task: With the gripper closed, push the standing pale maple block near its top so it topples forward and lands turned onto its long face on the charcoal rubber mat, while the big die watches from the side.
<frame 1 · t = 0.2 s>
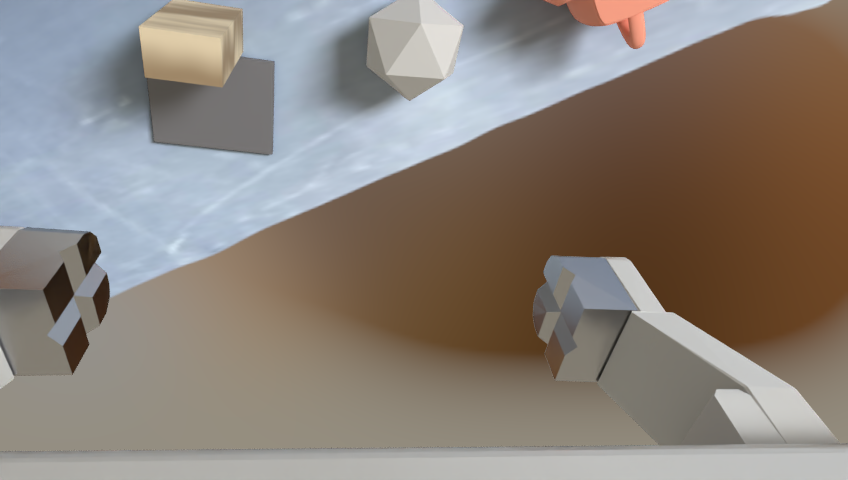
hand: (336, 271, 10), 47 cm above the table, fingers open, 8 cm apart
maple block: (209, 25, 51), on the table
rubber mat: (213, 101, 55), on the table
die: (409, 34, 54), on the table
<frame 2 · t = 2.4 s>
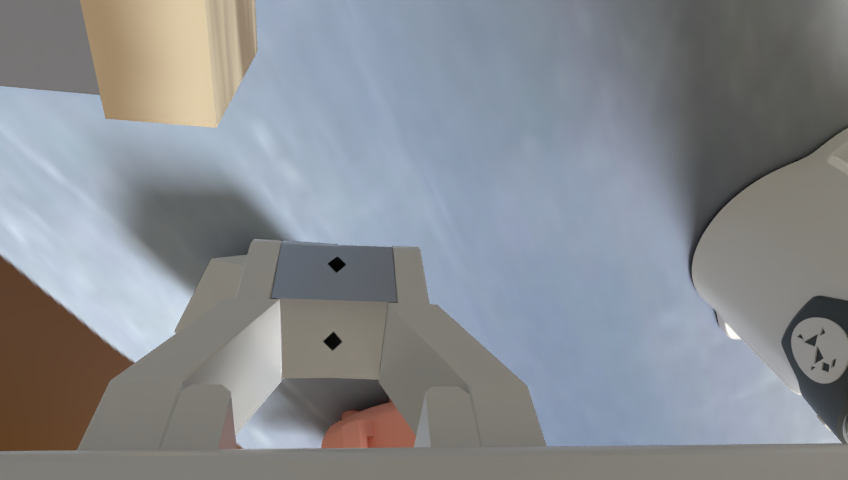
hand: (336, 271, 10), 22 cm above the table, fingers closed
teapot: (385, 425, 49), on the table
die: (267, 278, 38), on the table
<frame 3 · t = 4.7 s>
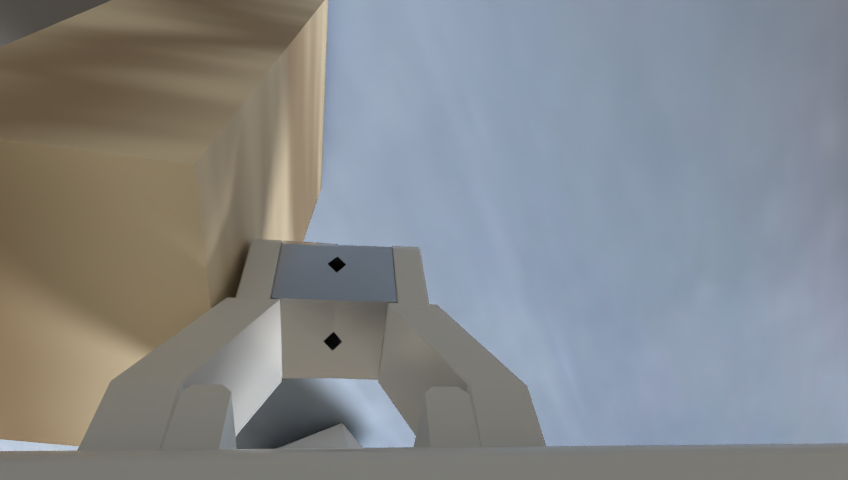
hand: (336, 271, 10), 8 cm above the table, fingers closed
maple block: (257, 92, 16), on the table, tilted 6°, touching gripper
die: (313, 452, 28), on the table
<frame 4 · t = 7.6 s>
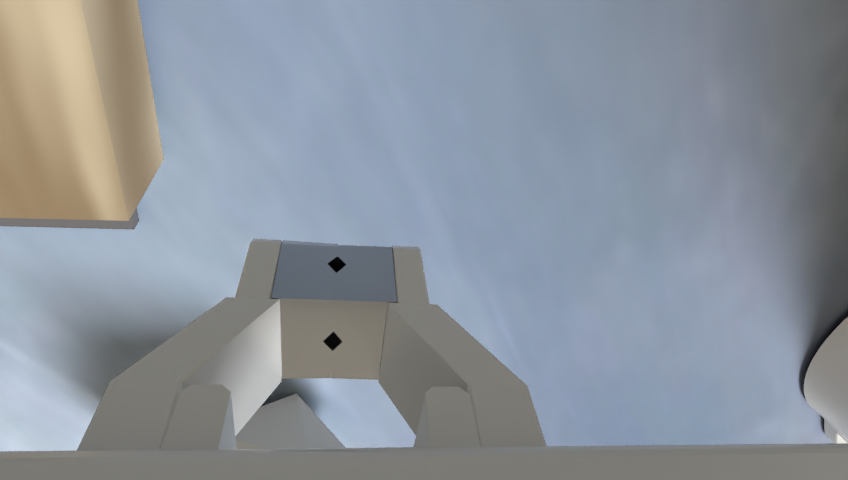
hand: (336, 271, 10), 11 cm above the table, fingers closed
maple block: (130, 95, 15), point 3 cm above the table, tilted 90°, touching rubber mat
die: (271, 424, 29), on the table
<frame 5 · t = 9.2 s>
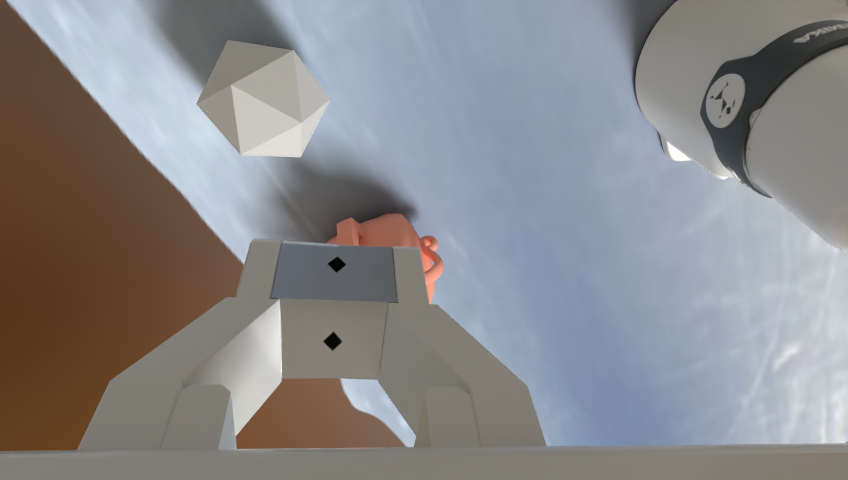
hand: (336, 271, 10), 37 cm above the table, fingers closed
teapot: (374, 251, 56), on the table
die: (272, 82, 45), on the table
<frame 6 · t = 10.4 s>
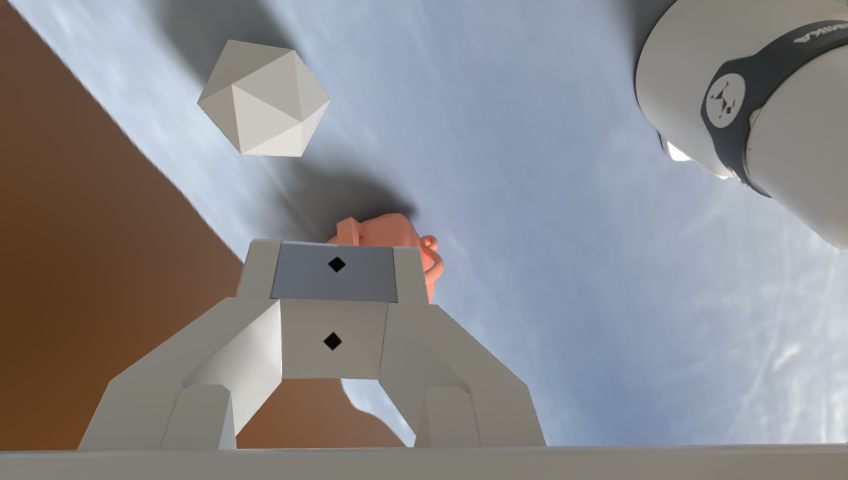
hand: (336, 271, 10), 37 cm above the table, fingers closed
teapot: (375, 251, 56), on the table
die: (273, 82, 45), on the table
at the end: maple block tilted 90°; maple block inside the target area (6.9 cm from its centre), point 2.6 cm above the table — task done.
